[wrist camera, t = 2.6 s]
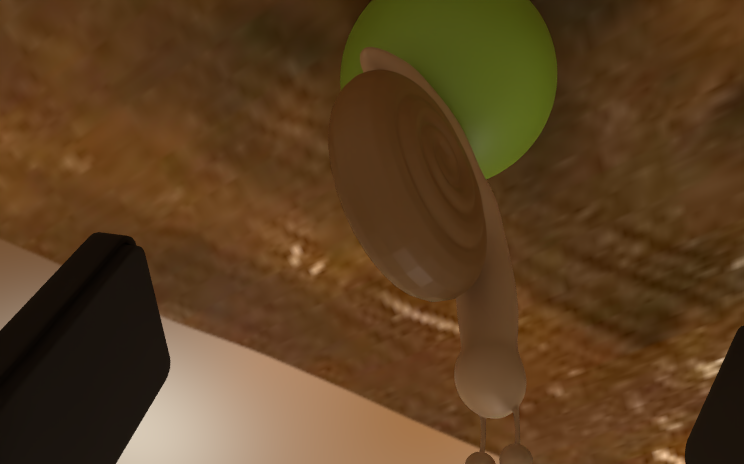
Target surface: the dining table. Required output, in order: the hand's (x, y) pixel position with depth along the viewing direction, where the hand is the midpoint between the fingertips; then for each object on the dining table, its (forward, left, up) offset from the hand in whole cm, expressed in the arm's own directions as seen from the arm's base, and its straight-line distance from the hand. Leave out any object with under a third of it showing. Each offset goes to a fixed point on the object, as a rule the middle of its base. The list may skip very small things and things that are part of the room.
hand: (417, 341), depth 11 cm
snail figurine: (-1, 0, -11) cm, 11 cm away
